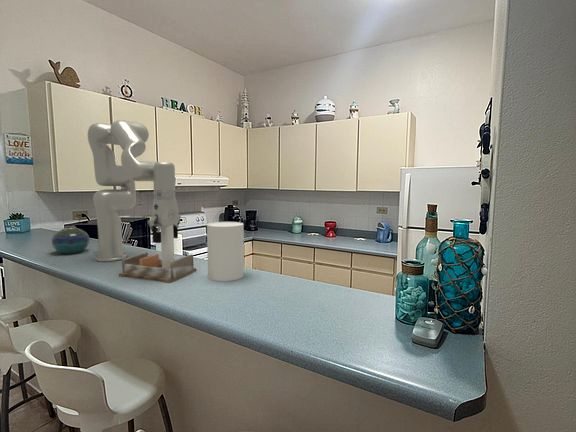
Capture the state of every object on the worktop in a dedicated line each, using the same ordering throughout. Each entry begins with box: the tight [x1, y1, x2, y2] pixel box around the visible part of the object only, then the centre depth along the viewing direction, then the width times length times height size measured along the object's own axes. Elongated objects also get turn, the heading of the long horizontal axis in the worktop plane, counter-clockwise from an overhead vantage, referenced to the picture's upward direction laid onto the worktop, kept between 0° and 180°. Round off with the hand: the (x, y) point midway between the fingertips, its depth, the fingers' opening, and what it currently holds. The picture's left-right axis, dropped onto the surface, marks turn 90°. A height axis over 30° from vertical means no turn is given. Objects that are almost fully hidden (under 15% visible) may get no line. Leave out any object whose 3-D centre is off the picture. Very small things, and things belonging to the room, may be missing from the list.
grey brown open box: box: [118, 252, 197, 283], centre depth 123 cm, size 23×16×7 cm
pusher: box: [139, 253, 160, 267], centre depth 124 cm, size 1×9×5 cm, turn 163°
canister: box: [206, 221, 245, 282], centre depth 120 cm, size 14×14×20 cm
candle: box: [160, 225, 175, 269], centre depth 122 cm, size 7×7×25 cm
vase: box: [51, 224, 90, 255], centre depth 156 cm, size 15×15×13 cm
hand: (165, 240), depth 121 cm, fingers open, 9 cm apart
